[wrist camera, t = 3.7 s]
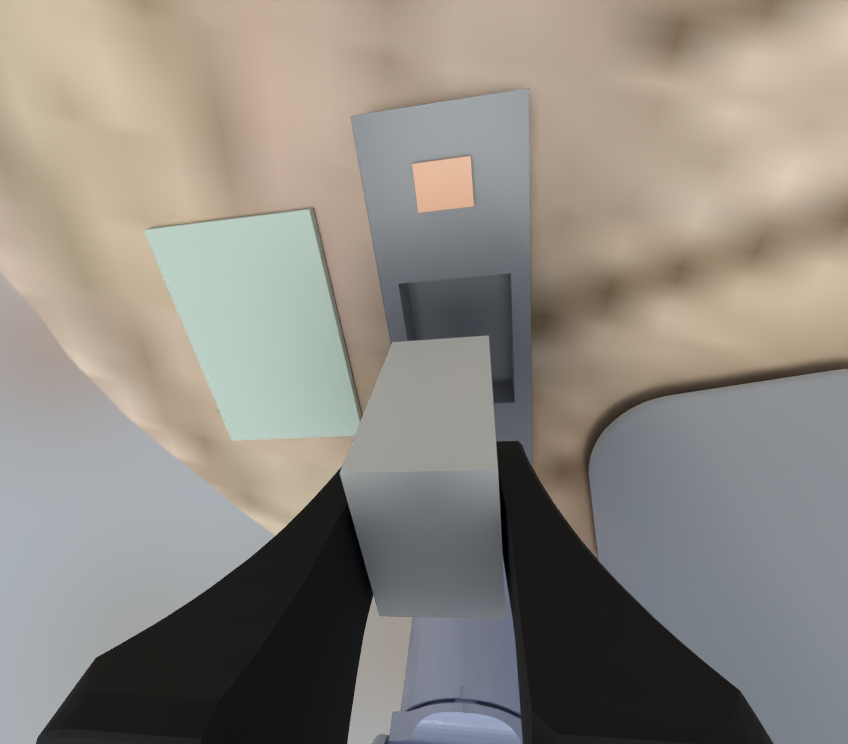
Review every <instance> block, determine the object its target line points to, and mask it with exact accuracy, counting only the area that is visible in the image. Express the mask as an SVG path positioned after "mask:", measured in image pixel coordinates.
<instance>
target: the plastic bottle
mask: <svg viewBox="0 0 848 744" xmlns="http://www.w3.org/2000/svg"><path fill="white" fill-rule="evenodd" d="M589 482H590V491H591V500H592V508H593V517H594V526H595V534H596V543H597V552H598V560H599V562H600V563H601V564H602V565H603V566H604V567H605V568H606V569H607V571H608V572H609V573H610V574H611V575H612V576H613V577H614V578H615V579H616V580H617V581H618V582H619V583H620V584H621V585H622V586H623V587H624V588H625V589H626V590H627V591H628V592H629V593H630V594H631V595H632V596H633V597H634V598H635V599H636V600H637V601H638V602H639V603H640V604H641V605H642V606H643V607H644V608H645V609H646V610H647V611H648V612H649V613H650V614H651V615H652V616H653V617H654V618H655V619H656V620H657V621H659V622H660V623H661V624H662V625H663V626H664V627H665V628H666V629H667V630H669V631H670V632H671V633H672V634H673V635H674V636H675V637H676V638H677V639H679V640H680V641H681V642H682V643H683V644H684V645H685V646H687V647H688V648H689V649H690V650H691V651H692V652H694V653H695V654H696V655H697V656H698V657H700V658H701V659H702V660H703V661H704V662H705V663H707V664H708V665H709V666H710V667H711V668H713V669H714V670H715V671H716V672H718V673H719V674H720V675H721V676H723V677H724V678H725V679H726V680H728V681H729V682H730V683H731V684H733V685H734V686H735V687H736V688H738V689H739V690H740V691H741V693H742V694H743V696H744V697H745V699H746V700H747V702H748V703H749V705H750V706H751V708H752V709H753V711H754V713H755V714H756V716H757V717H758V719H759V720H760V722H761V724H762V725H763V727H764V729H765V730H766V732H767V734H768V735H769V737H770V738H771V740H772V742H773V744H848V369H839V370H831V371H825V372H818V373H812V374H805V375H799V376H792V377H786V378H779V379H773V380H766V381H760V382H753V383H747V384H740V385H734V386H727V387H721V388H714V389H707V390H701V391H694V392H688V393H681V394H675V395H669V396H664V397H659V398H656V399H652V400H649V401H646V402H644V403H641V404H639V405H637V406H635V407H633V408H631V409H629V410H628V411H626V412H625V413H623V414H622V415H620V416H619V417H618V418H616V419H615V420H614V421H613V422H612V423H610V424H609V425H608V427H607V428H606V429H605V430H604V431H603V432H602V434H601V435H600V437H599V438H598V440H597V441H596V444H595V446H594V448H593V451H592V453H591V456H590V461H589Z"/></svg>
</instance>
